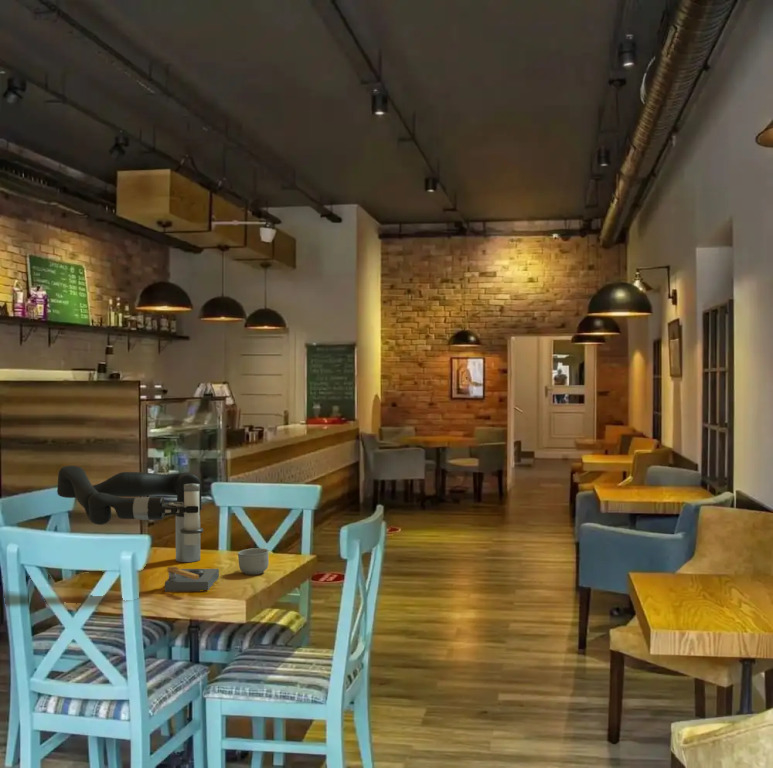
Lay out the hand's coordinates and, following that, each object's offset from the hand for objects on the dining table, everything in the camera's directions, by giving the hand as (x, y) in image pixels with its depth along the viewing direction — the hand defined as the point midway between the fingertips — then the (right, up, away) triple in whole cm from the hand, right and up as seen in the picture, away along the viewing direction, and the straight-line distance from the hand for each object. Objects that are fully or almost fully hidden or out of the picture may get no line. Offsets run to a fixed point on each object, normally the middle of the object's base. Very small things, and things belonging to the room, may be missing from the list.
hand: (199, 508), depth 292 cm
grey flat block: (-2, -26, 0) cm, 26 cm away
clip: (-3, -20, -9) cm, 23 cm away
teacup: (+15, -26, +18) cm, 35 cm away
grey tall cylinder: (-3, -12, 0) cm, 12 cm away
